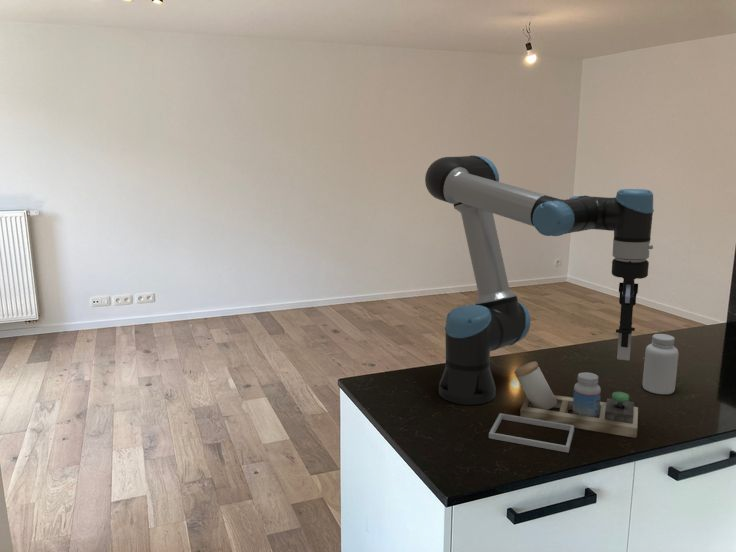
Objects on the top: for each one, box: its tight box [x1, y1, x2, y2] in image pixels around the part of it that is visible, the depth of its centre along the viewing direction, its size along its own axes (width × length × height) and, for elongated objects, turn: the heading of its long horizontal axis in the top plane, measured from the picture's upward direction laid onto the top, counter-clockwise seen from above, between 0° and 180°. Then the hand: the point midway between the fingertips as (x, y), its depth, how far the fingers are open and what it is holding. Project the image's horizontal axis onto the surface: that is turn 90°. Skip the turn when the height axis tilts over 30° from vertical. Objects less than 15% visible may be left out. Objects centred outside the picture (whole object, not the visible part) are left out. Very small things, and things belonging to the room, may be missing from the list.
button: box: [611, 391, 630, 407], centre depth 139 cm, size 4×4×3 cm
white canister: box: [514, 361, 557, 410], centre depth 148 cm, size 6×6×11 cm
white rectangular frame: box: [488, 412, 575, 453], centre depth 136 cm, size 17×11×1 cm, turn 65°
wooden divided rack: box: [519, 394, 639, 439], centre depth 144 cm, size 26×12×4 cm, turn 65°
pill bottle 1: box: [572, 371, 602, 418], centre depth 142 cm, size 6×6×11 cm
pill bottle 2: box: [642, 333, 679, 395], centre depth 158 cm, size 8×8×15 cm
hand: (623, 358), depth 137 cm, fingers closed
